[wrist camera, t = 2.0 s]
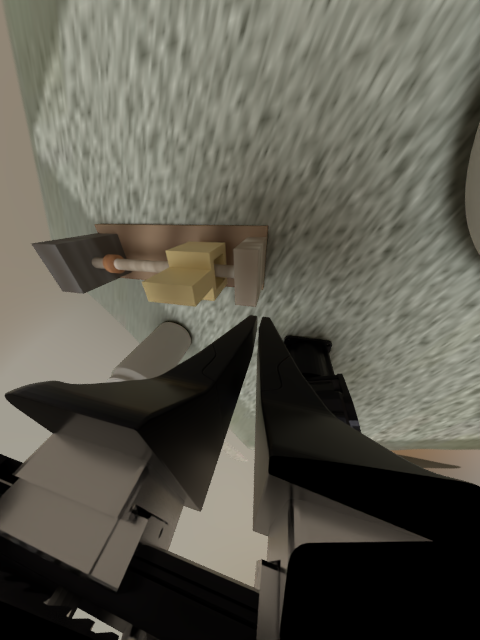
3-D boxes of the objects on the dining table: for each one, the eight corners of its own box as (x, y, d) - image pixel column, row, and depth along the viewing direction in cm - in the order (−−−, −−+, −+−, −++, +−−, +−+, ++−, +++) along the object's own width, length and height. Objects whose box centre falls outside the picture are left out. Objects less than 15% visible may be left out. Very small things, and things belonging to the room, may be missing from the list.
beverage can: (155, 318, 30) (92, 373, 20) (188, 320, 28) (137, 381, 19) (167, 345, 33) (118, 403, 24) (196, 348, 32) (157, 411, 22)
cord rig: (268, 225, 18) (257, 237, 12) (263, 287, 22) (253, 321, 15) (99, 223, 22) (23, 232, 16) (121, 275, 26) (67, 299, 20)
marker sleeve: (225, 242, 17) (188, 265, 11) (227, 283, 20) (198, 322, 13) (189, 241, 18) (134, 262, 12) (195, 280, 20) (154, 316, 14)
